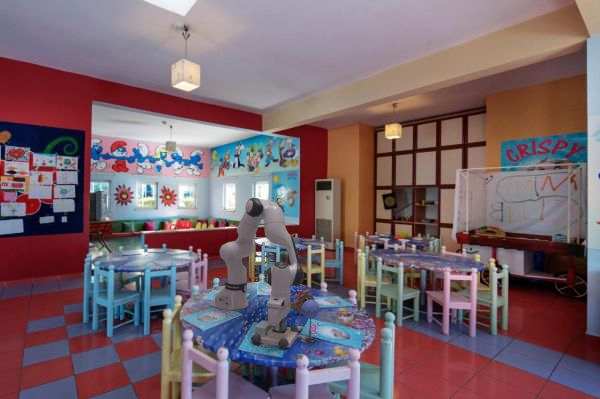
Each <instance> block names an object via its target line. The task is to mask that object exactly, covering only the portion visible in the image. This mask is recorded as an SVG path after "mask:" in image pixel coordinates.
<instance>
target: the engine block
mask: <svg viewBox="0 0 600 399" xmlns="http://www.w3.org/2000/svg"><path fill="white" fill-rule="evenodd" d="M287 322H288V320H287V319H286V318H285V319H284V318H283V319H282V320H281V321H280V324H279V325H280V330H279V331H276V330H275V326H273V332H278V333H285V332H286V330H287V328H288V327H287Z"/></svg>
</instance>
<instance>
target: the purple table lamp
mask: <svg viewBox="0 0 600 399" xmlns="http://www.w3.org/2000/svg"><path fill="white" fill-rule="evenodd" d="M301 310H302V313H303V314H302V315H303V316H304V317H305V318H306V319H309V330H308V337H309V338H308V339H309V340H310V341H312V319H315V318H317V317H318V315H319V313H320V312H321V307H320V305H319V303H318V302H317V301H316V300H315V299H314V300H307V301H305V302H304V303H303V305H302V308H301Z"/></svg>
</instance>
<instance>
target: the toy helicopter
mask: <svg viewBox="0 0 600 399" xmlns="http://www.w3.org/2000/svg"><path fill="white" fill-rule="evenodd" d="M310 291H311V289H310V288H308V289H305V290H300V291H299V292H298V293H296V294H294V295H292V299H295V298H297V297H299V298H298V299H297V300H296V301H293V302H291V301H290V304H291V309H290V310H292V309H297V313H298V314H299V316H300V315H301V316H302V315H303V313H302V310H301V308H302V305H303V303H304V302H305V301H307V300H314V301H315V297H314V296H313V295H311V294H309V292H310Z"/></svg>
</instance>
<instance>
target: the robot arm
mask: <svg viewBox="0 0 600 399" xmlns="http://www.w3.org/2000/svg"><path fill="white" fill-rule="evenodd" d="M284 215H285V214H284V207H283V206H282V205H281V204H280V203H277V202H274V201H271V200H268V199H264V198H263V199H262V198H258V197H251V198H249V199H248V201H246V204H245V211H244V213H243V215H242V217H241V219H240V221H239V223H238V225H237V228H236V232H237V234H238V235H237V236H238V237H237V238H236V239H235V240H233V241H228V242H226V243H224V244H222V245H221V246H220V248H219V256H220V258H221V259H222V260H223V261H224V262H225V265H226V268H227V281H226V282H224V283H223V286H224V288H222V289H220V291H219V292H217V293H216V295H215V297H214V300H213V301H211V303H210V307H212V308H216V307H217V309H220V308H221V309H220V310H225V311H229V312H230V311H234V310H243V309H245V308H247V307H249V302H248V301H249V300H248V296H247V294H248V293H247V291H248V282H247V281H248V280H247V274H248V273H247V272H248V270H247V267H246V266H244V264H243V261H242V260H243V259H244V258H248V257H249V256H250V255H252V254H253V253H254V252H255V249H256V248H255V244H254V240H255V235H256V233H257V231H258V229H259V227H260V224H261V222H262V220H263V225H264V226H263V227H264V236H265V238H266V239H267V240H268V241H269V242H271V243H273V244H275V245H278V246H280V247H283V248H284V249H286V251H287V252H288V253H287V254H288V256H289V260H290V265H289V263H288V262H285V261H276V262H274V263H273V264H272V266H269V267H268V268H267V270H266V272H265V273H266V279H265V281H266V282H265V283H267V284H268V285H269V286H271V291H270V297H269V299H268V300H267V303H266V304H267V305H266V306H267V307H268V309H267V321H268V323H269V325H272V326H275V330H276V331H279V330H280V325H279V324H280V321H281V320H282V319H283V318H284V319H286V316H287V315H288V314H289V313H290V311H291V310H292V309H291V304H290V303H291V289H290V287H299V286H300V285H301V284H302V283H303V282H304V280H305V273H304V269H303V267H302V264H301V261H300V256H299V254H298V250H297V245H296V243H295V240H294V237H293V236H292V234H290V233H289V232H288V230H287V228H286V221H285V216H284Z"/></svg>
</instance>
